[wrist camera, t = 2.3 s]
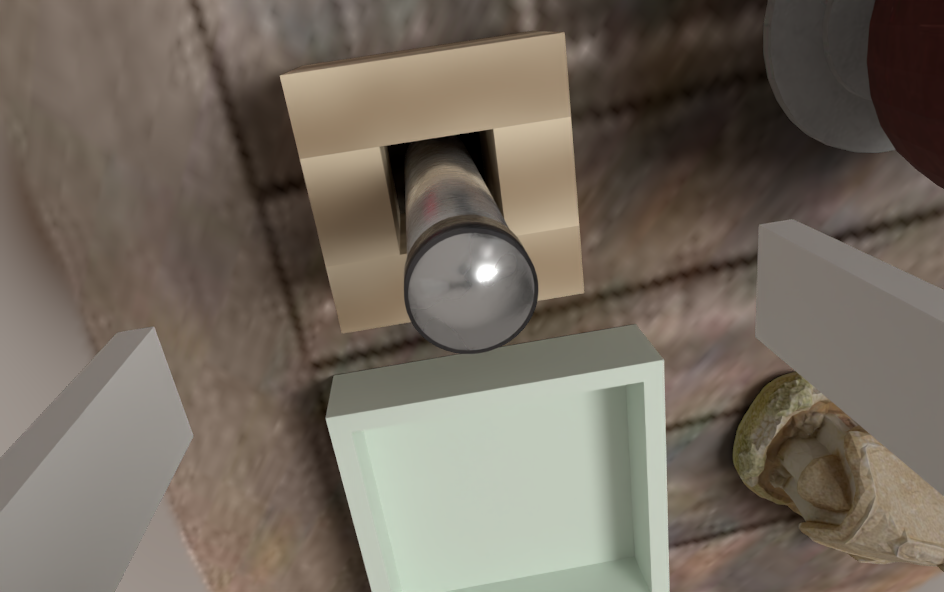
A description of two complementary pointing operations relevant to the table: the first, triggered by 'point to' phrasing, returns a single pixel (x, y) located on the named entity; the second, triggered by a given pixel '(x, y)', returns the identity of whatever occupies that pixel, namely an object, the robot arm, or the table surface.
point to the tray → (510, 467)
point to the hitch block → (425, 117)
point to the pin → (461, 254)
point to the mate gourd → (862, 74)
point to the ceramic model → (837, 477)
